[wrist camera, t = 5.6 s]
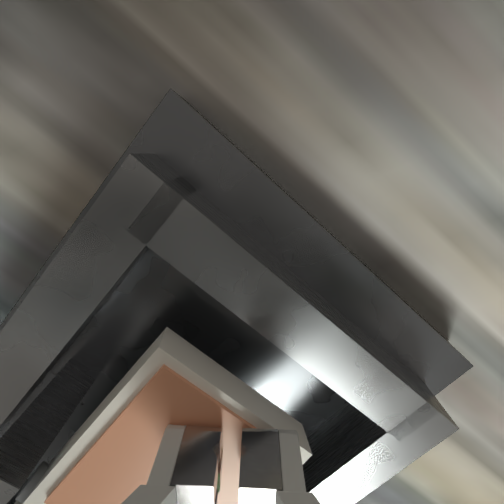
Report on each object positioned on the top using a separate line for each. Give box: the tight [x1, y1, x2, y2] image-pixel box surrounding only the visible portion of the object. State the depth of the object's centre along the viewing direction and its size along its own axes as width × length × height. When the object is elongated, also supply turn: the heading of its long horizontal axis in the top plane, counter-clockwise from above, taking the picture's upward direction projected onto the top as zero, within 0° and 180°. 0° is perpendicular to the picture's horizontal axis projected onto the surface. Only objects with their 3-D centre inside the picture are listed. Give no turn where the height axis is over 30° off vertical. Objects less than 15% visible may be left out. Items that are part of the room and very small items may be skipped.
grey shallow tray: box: [0, 89, 473, 504], centre depth 11 cm, size 22×14×6 cm, turn 139°
